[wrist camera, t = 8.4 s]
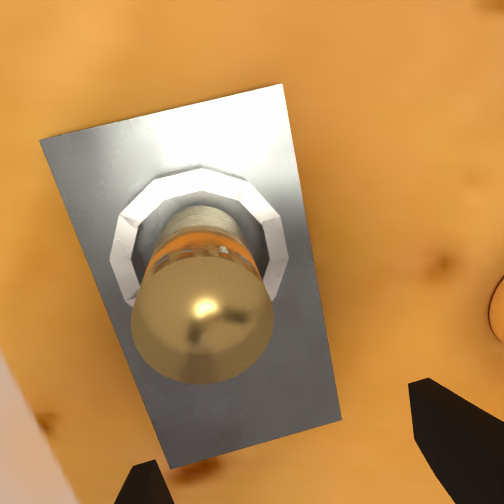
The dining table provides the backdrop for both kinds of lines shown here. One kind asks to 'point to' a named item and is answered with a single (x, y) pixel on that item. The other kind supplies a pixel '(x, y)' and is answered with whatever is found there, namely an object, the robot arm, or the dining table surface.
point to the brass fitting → (201, 301)
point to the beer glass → (497, 312)
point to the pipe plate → (257, 238)
